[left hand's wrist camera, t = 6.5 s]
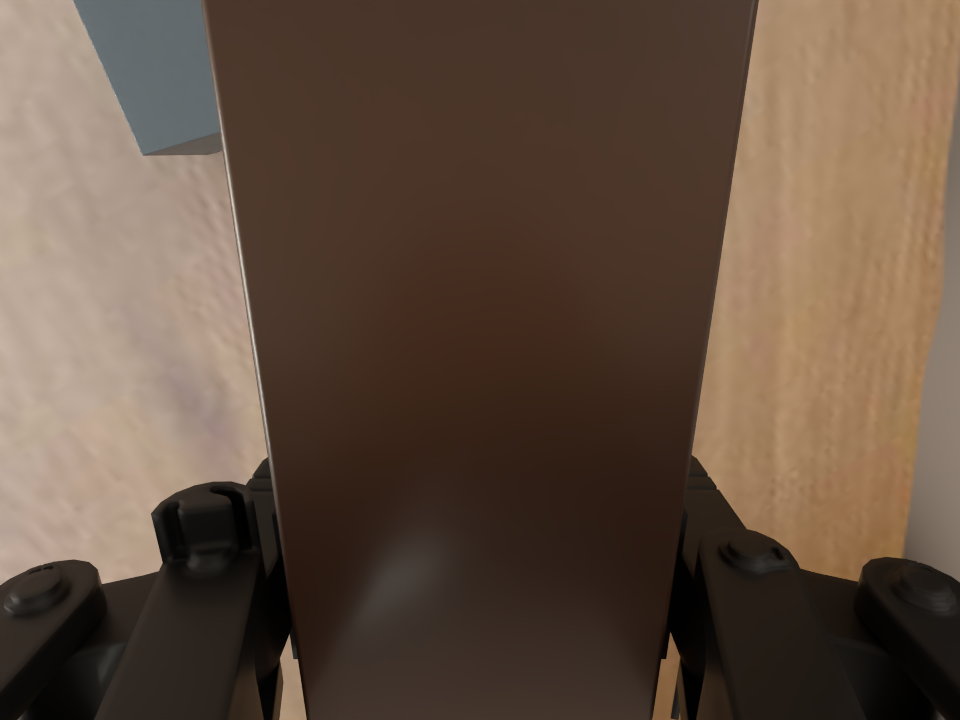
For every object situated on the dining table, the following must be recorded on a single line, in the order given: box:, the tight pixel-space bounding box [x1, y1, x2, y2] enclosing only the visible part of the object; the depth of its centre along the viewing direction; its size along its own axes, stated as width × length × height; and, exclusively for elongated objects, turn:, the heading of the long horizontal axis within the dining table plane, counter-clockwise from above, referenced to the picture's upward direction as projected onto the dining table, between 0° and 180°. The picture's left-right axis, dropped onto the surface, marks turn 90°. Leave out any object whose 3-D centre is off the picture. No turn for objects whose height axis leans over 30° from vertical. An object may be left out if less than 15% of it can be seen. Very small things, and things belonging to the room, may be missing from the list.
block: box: [73, 0, 223, 156], centre depth 21 cm, size 5×5×5 cm
